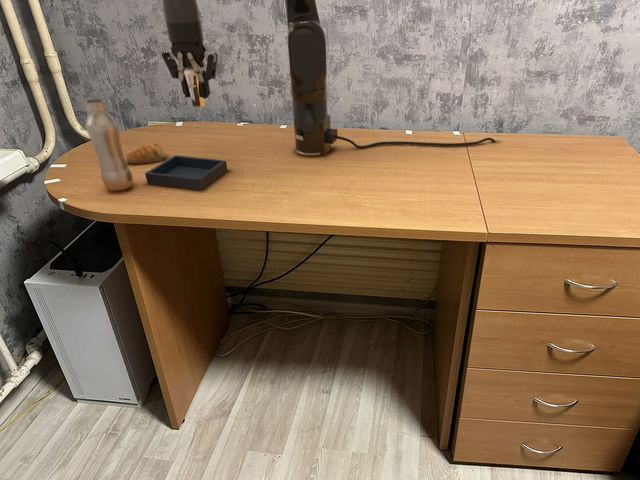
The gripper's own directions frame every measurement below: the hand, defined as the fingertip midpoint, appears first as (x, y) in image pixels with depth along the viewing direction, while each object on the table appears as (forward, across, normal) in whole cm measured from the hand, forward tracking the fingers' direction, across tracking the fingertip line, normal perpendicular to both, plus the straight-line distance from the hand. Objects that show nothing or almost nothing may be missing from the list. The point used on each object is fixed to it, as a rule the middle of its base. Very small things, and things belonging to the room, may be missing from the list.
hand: (197, 96), depth 118 cm
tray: (+17, 0, +11) cm, 20 cm away
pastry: (+17, +16, +3) cm, 24 cm away
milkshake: (+2, 0, 0) cm, 2 cm away
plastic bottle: (+17, +12, +21) cm, 29 cm away
